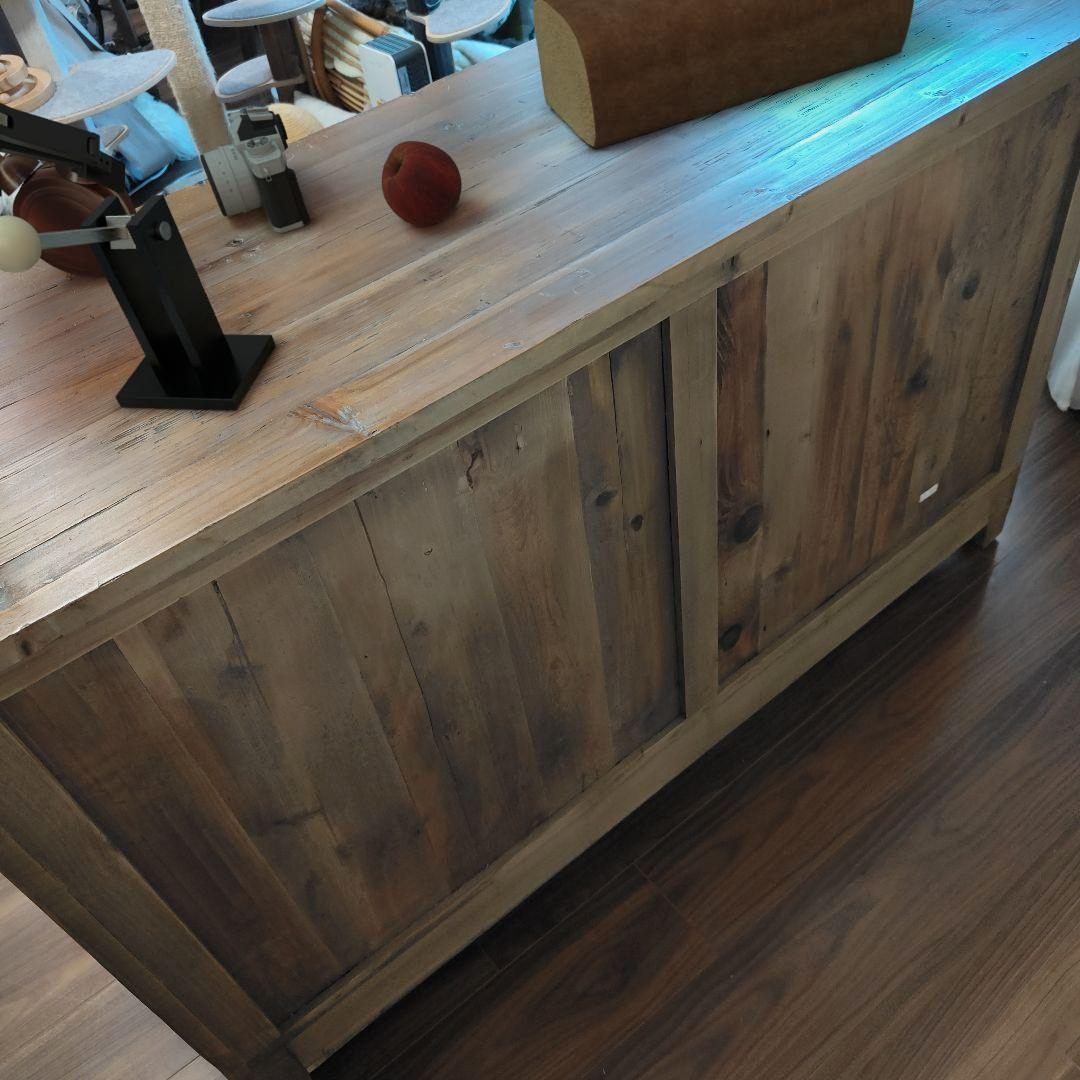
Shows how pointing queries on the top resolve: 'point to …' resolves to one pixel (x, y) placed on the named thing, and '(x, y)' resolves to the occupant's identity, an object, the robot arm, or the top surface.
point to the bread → (697, 55)
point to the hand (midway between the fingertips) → (59, 180)
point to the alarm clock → (56, 206)
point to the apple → (421, 183)
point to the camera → (256, 170)
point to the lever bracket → (173, 318)
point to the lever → (54, 240)
